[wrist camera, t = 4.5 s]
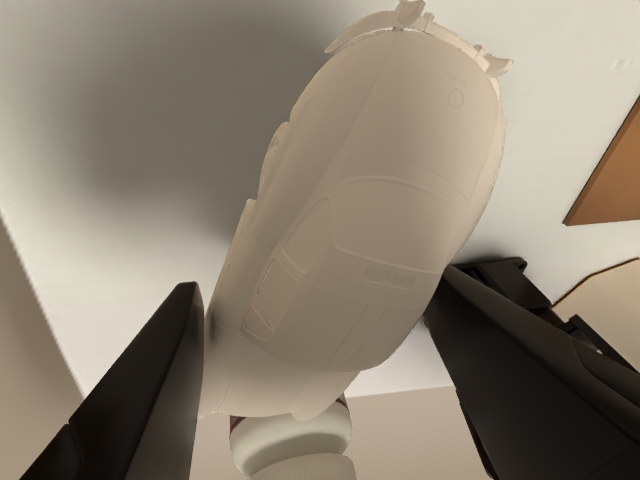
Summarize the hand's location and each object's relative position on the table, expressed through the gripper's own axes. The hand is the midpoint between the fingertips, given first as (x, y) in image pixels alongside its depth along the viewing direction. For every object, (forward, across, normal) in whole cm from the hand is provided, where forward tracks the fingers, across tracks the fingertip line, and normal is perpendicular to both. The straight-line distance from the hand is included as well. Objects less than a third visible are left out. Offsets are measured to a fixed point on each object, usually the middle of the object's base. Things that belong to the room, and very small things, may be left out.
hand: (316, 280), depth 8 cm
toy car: (+1, 0, 0) cm, 1 cm away
